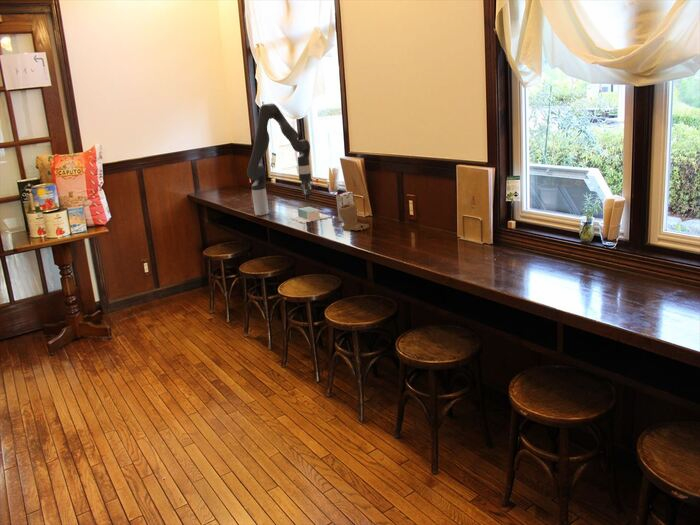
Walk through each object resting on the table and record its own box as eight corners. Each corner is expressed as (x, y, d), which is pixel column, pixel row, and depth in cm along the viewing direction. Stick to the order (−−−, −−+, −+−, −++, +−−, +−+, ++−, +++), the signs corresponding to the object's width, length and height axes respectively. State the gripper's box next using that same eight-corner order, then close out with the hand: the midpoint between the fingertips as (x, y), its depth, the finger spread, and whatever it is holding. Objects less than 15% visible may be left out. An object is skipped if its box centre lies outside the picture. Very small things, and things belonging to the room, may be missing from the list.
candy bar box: (349, 217, 385) (346, 191, 380) (355, 218, 382) (353, 191, 377) (338, 221, 376) (335, 195, 372) (344, 222, 373) (342, 195, 369)
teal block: (297, 208, 396) (307, 211, 385) (308, 206, 400) (318, 209, 388) (298, 216, 398) (308, 219, 386) (309, 214, 402) (319, 217, 390)
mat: (291, 219, 394) (291, 218, 394) (318, 213, 404) (318, 212, 403) (303, 223, 380) (302, 222, 380) (331, 217, 389) (331, 216, 389)
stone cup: (336, 230, 356) (333, 205, 351) (350, 226, 364) (348, 200, 359) (355, 233, 345) (353, 207, 341) (369, 228, 353) (367, 203, 349)
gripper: (294, 172, 389) (297, 199, 394) (303, 174, 378) (306, 202, 383) (305, 170, 393) (308, 197, 398) (314, 172, 382) (317, 200, 387)
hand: (307, 199), depth 391 cm, fingers closed
